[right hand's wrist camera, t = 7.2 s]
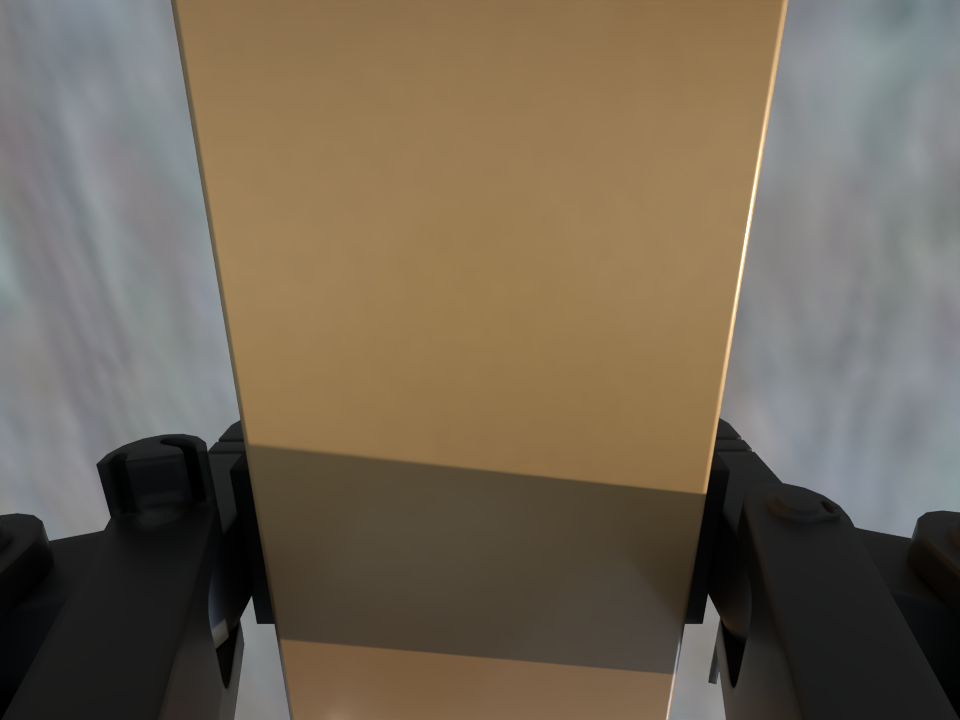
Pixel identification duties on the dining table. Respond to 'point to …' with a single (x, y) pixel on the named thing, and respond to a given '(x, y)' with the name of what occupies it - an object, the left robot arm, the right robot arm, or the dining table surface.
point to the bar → (479, 331)
